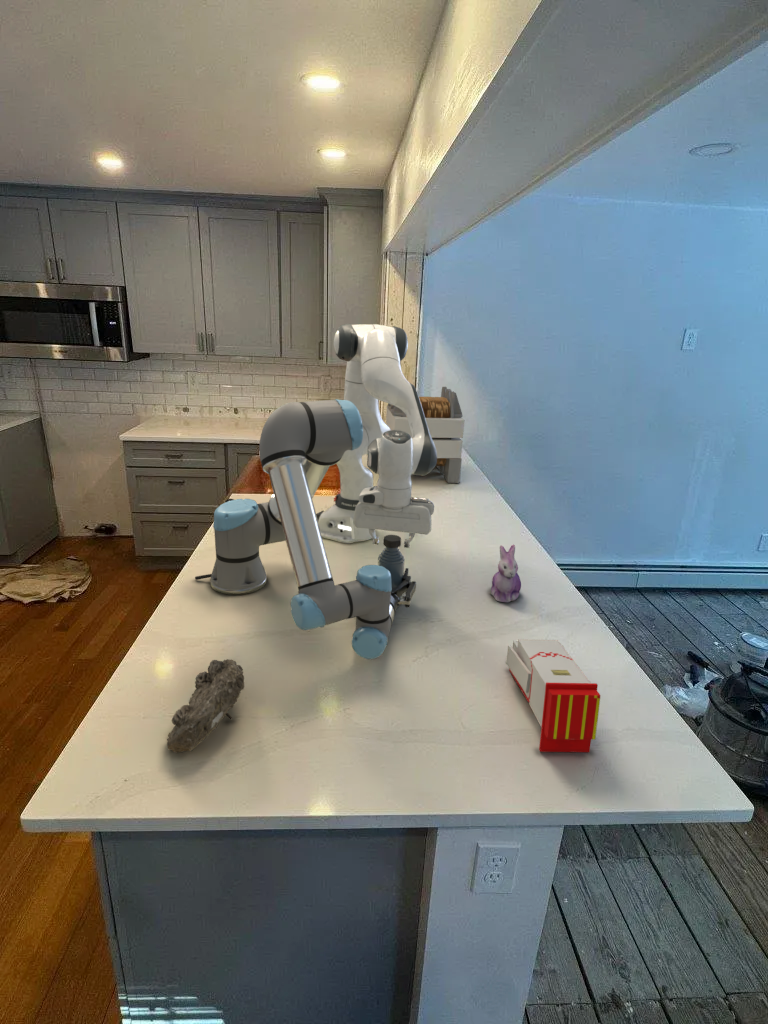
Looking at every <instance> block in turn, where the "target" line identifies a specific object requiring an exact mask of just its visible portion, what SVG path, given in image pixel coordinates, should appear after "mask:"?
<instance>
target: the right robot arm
mask: <svg viewBox="0 0 768 1024" xmlns="http://www.w3.org/2000/svg"><path fill="white" fill-rule="evenodd" d="M408 348H409V341H408V335H407V333H406V331H405V329H403V328H401V327H399V326H393V325H392V326H389V325H384V324H377V323H371V324H367V323H366V324H365V323H364V324H363V323H361V324H359V323H358V324H352V323H345V324H341V325H340V326H339V327H337V329H336V331H335V334H334V337H333V349H334V352H335V355H336V357H337V358H338V359H339V360H341V361H344V362H346V367H345V375H344V389H343V390H344V391H343V400H348V401H351V402H352V403H353V404H354V405H355V406H356V407H357V409H358V411H359V413H360V416H361V419H362V425H363V440H362V443H361V445H360V447H359V448H357V449H354V450H347V451H345V452H344V454H343V456H342V458H341V459H340V461H339V462H338V463H336V464H335V465H336V466H337V468H338V469H337V470H338V472H339V482H340V484H339V485H340V488H339V489H340V490H339V491H338V492H337V494H336V495H335V496H334V497H333V502H334V504H333V505H331V506H329V507H328V508H326V509H325V510H321V511H319V512H316V516H317V520H318V523H319V527H320V531H321V535H322V539H326V540H330V541H336V542H339V543H343V544H352V543H357V542H365V541H368V540H372V545H375V546H376V545H377V546H379V544H380V536H377V532H376V530H378V531H387V532H397V533H407V534H408V536H409V538H408V539H404V543H403V548H405V549H410V548H411V542H412V541H413V540H414V539H415V537H416V534H418V535H428V534H429V533H431V531H432V525H433V524H432V515H434V512H435V504H434V502H433V501H432V500H430V499H429V498H427V497H426V498H425V497H423V498H421V497H416V496H415V497H414V496H412V490H413V482H412V476H423V477H424V476H426V475H427V476H428V474H430V473H431V472H432V471H433V470H434V469H435V468H436V467H437V466H436V464H437V452H436V447H435V445H434V442H433V440H432V438H431V435H430V433H429V429H428V426H427V423H426V419H425V416H424V412H423V409H422V405H421V402H420V399H419V397H420V396H419V393H418V391H417V388H416V387H415V385H414V384H412V383H411V382H409V380H408V379H407V378H406V377H405V375H404V372H403V370H402V366H401V361H403V360H404V359H405V358H406V355H407V351H408ZM379 401H380V402H384V403H387V404H388V403H389V404H392V405H394V406H396V407H398V408H399V409H401V410H402V411H403V412H404V413H405V414H406V416H407V419H408V423H409V426H410V430H411V433H412V437H413V438H412V437H411V435H409V434H408V433H406V432H403V431H400V430H390V428H389V427H388V425H387V423H386V422H385V421H384V420H383V418H382V415H381V412H380V406H379ZM364 456H367V458H366V460H367V461H366V466H367V467H366V466H364V464H363V457H364ZM373 473H374V474H376V475H378V478H377V483H376V485H374V474H373ZM231 500H235V499H234V498H228V499H226V500H225V501H224V503H225V502H228V501H231Z"/></svg>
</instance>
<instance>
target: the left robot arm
mask: <svg viewBox="0 0 768 1024" xmlns="http://www.w3.org/2000/svg"><path fill="white" fill-rule="evenodd" d="M362 440H363V425H362V419H361V416H360V413H359V411H358V409H357V407H356V406H355V405H354V404H353V403H352V402H351V401H348V400H344V399H338V398H335V399H326V400H324V399H323V400H311V401H291V402H286V403H284V404H281V405H280V406H279V407H277V408H276V409H274V410H273V411H272V412H271V414H270V415H269V416H268V418H267V419H266V421H265V423H264V425H263V427H262V430H261V432H260V438H259V447H258V448H259V449H258V450H259V451H258V452H259V461H260V464H261V468H262V471H263V473H266V474H268V476H269V480H270V483H271V484H270V485H271V488H272V492H273V494H272V495H271V496H270V498H269V501H267V502H260V503H257V501H256V500H254V499H250V498H244V499H243V498H236V499H234V500H231V501H228V502H225V501H224V502H223V503H222V504H219V505H218V507H216V508H215V510H214V512H213V524H212V527H213V531H214V547H215V561H214V565H213V569H212V570H211V571H212V572H211V573H208V574H202V575H197V576H195V577H194V579H195V581H199V580H204V579H208V578H209V579H210V586H211V588H212V589H213V590H214V591H216V592H218V593H220V594H224V595H235V596H236V595H238V596H239V595H245V594H250V593H254V592H257V591H259V590H261V589H263V587H264V586H265V585H266V584H267V582H268V581H267V572H266V568H265V565H264V563H263V561H262V559H261V556H260V547H261V546H266V545H270V544H276V543H280V542H285V543H286V547H287V551H288V553H289V554H288V555H289V559H290V562H291V567H292V570H293V574H294V578H295V582H296V586H297V590H298V593H297V594H295V595H293V597H292V598H291V600H290V613H291V618H292V620H293V622H294V624H295V626H296V627H297V628H298V629H300V630H302V631H308V630H309V631H311V630H314V629H318V628H319V629H320V628H324V627H325V626H329V625H332V624H335V623H339V622H341V621H345V620H350V619H353V618H355V628H354V631H353V633H352V639H351V647H352V649H353V651H354V653H355V654H356V655H357V656H359V657H360V658H363V659H366V660H373V659H377V658H379V657H381V655H382V654H383V653H384V652H385V649H386V647H387V646H388V641H389V636H390V632H391V628H392V626H393V622H394V619H395V615H396V611H397V608H399V606H400V605H404V607H405V608H410V607H411V602H412V601H411V600H412V599H413V597H414V594H416V591H417V590H416V589H417V582H416V581H415V580H414V581H412V580H411V579H412V576H411V575H409V568H408V567H405V568H404V576H403V582H402V583H401V584H400V585H398V586H397V587H396V588H392V583H391V574H390V572H389V570H387V569H386V568H384V567H382V566H379V565H378V564H367V565H363V566H362V567H359V568H358V570H357V572H356V576H355V579H354V580H351V581H346V582H342V583H338V584H335V581H334V578H333V574H332V570H331V567H330V563H329V559H328V554H327V551H326V546H325V543H324V538H323V537H322V535H321V531H320V527H319V523H318V520H317V516H316V514H317V512H316V508H315V505H314V501H313V498H314V496H315V494H316V492H317V491H318V489H319V487H320V485H321V483H322V482H323V479H324V478H325V476H326V474H327V473H328V470H329V468H330V467H332V466H334V465H337V464H336V463H338V462H339V461H340V459H341V458H342V456H343V454H344V452H345V451H347V450H354V449H357V448H359V447H360V445H361V443H362ZM401 595H402V599H399V597H400V596H401Z"/></svg>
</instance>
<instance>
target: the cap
mask: <svg viewBox="0 0 768 1024" xmlns="http://www.w3.org/2000/svg"><path fill="white" fill-rule="evenodd" d="M382 544H383V546H384V547H385V548H386V547H388V548H398V549H399V548H400V547H401V546H402V537H401V536H399V535H396V534H387V535H384V536H383V542H382Z"/></svg>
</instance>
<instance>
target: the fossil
mask: <svg viewBox="0 0 768 1024" xmlns="http://www.w3.org/2000/svg"><path fill="white" fill-rule="evenodd" d="M243 670H244V669H243V667H242V665H240V664H237V662H236V661H235V660H234V659H232V658H231V659H227V658H226V659H224V660H223V661H222V660H217V659H212V660H211V661H210V663H209V665H208V666H207V671H201V672H199V673H198V674H197V675H196V676H195V680H194V684H195V685H194V687H195V689H194V690H193V693H192V694H191V697H190V698H189V700H188V704H184V705H182V706H181V707H180V709H177V710H176V711H175V713H174V715H173V716H172V718H171V723H172V724H173V727H172V730H171V731H170V732H168V734H167V738H166V741H167V742H166V745H167V749H168V750H169V751H173V752H174V753H176V754H178V753H182V752H188V751H189V752H192V751H193V750H195V748H196V747H197V746H199V744H200V743H201V742H203V741H204V740H205V739H206V738H207V737H208V736H209V735H210V734H211V733H212V732H214V730H215V729H217V727H218V726H219V724H220V722H221V721H222V720H223V719H224V718H225V716H226V717H227V719H229V720H233V717H232V715H230V714H229V710H230V709H231V708H234V706H235V704H236V703H237V702H238V699H239V697H240V695H241V693H242V691H243V690H245V689H244V688H245V675H244V671H243Z"/></svg>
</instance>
